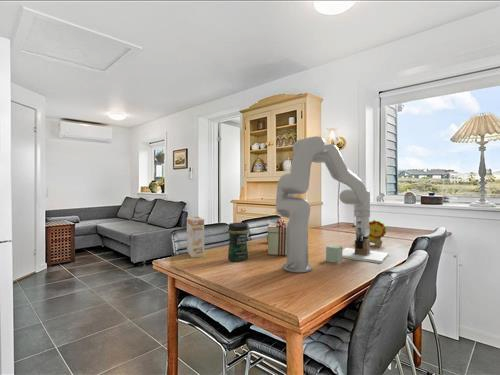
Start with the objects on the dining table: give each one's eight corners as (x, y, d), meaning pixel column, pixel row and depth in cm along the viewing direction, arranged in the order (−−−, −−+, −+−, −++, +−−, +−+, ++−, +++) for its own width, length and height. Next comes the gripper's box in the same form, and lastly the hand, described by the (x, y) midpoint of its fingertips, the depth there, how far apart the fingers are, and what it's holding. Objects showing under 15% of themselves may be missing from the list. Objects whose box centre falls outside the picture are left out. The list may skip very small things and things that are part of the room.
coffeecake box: (205, 256, 151) (204, 219, 150) (191, 258, 148) (190, 220, 148) (199, 250, 165) (198, 216, 164) (186, 251, 162) (186, 216, 162)
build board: (381, 263, 135) (381, 260, 135) (335, 256, 148) (335, 254, 148) (388, 255, 150) (388, 252, 150) (346, 249, 163) (346, 247, 163)
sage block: (338, 263, 137) (338, 248, 137) (326, 261, 141) (326, 246, 140) (342, 260, 142) (342, 246, 142) (330, 258, 145) (330, 244, 145)
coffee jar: (232, 263, 138) (232, 224, 138) (226, 259, 145) (225, 222, 145) (250, 260, 143) (250, 222, 143) (243, 256, 150) (242, 220, 150)
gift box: (303, 255, 151) (303, 222, 151) (267, 255, 151) (267, 223, 151) (298, 248, 168) (298, 218, 168) (266, 248, 168) (266, 218, 168)
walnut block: (366, 255, 145) (366, 241, 145) (354, 253, 148) (354, 240, 148) (369, 253, 150) (369, 239, 150) (357, 251, 153) (357, 238, 153)
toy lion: (357, 244, 177) (357, 219, 176) (359, 242, 181) (359, 218, 181) (385, 247, 168) (385, 221, 168) (386, 245, 173) (386, 220, 172)
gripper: (365, 215, 139) (365, 251, 140) (373, 212, 153) (373, 244, 154) (349, 214, 144) (349, 249, 144) (359, 211, 158) (359, 243, 158)
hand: (361, 246), depth 149 cm, fingers open, 9 cm apart
